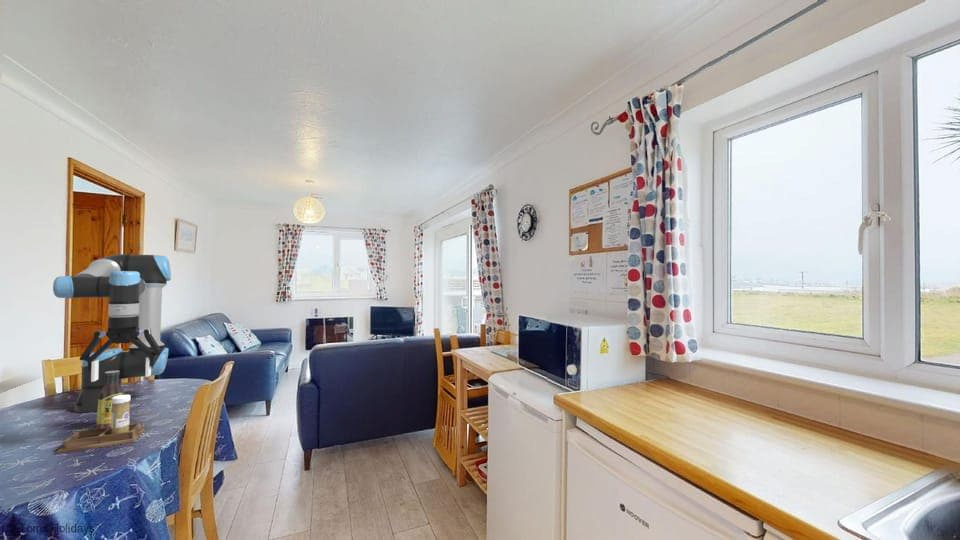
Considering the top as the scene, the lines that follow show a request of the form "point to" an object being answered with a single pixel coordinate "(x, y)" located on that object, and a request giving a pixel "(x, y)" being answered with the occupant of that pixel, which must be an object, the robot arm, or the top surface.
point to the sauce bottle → (107, 398)
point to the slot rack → (100, 438)
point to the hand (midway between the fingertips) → (122, 378)
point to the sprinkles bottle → (120, 414)
